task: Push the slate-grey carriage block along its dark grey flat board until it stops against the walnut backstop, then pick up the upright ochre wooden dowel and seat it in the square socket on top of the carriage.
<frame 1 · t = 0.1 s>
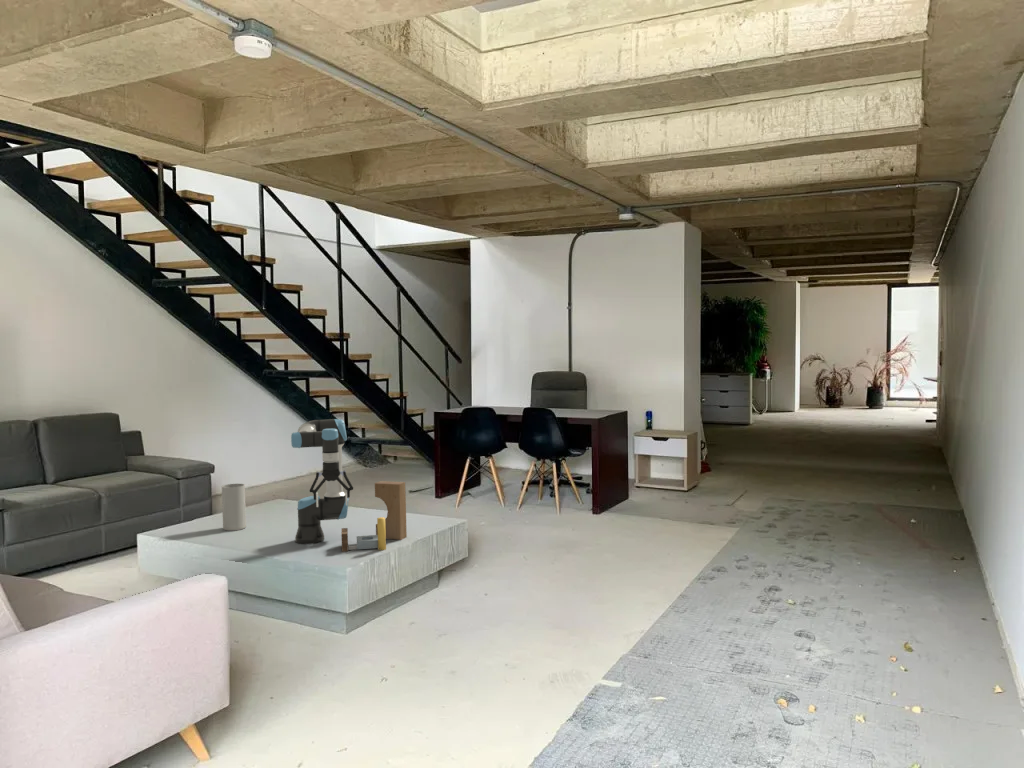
hand: (332, 505, 363), 28 cm above the table, fingers open, 13 cm apart
cylinder vase: (234, 528, 441), on the table
decorative block: (391, 537, 413), on the table
backstop: (345, 548, 392), on the table
carriage: (367, 542, 395), point 2 cm above the table, slide at 0.0 cm
dark grey flat board: (366, 546, 395), on the table
dowel: (382, 549, 389), on the table
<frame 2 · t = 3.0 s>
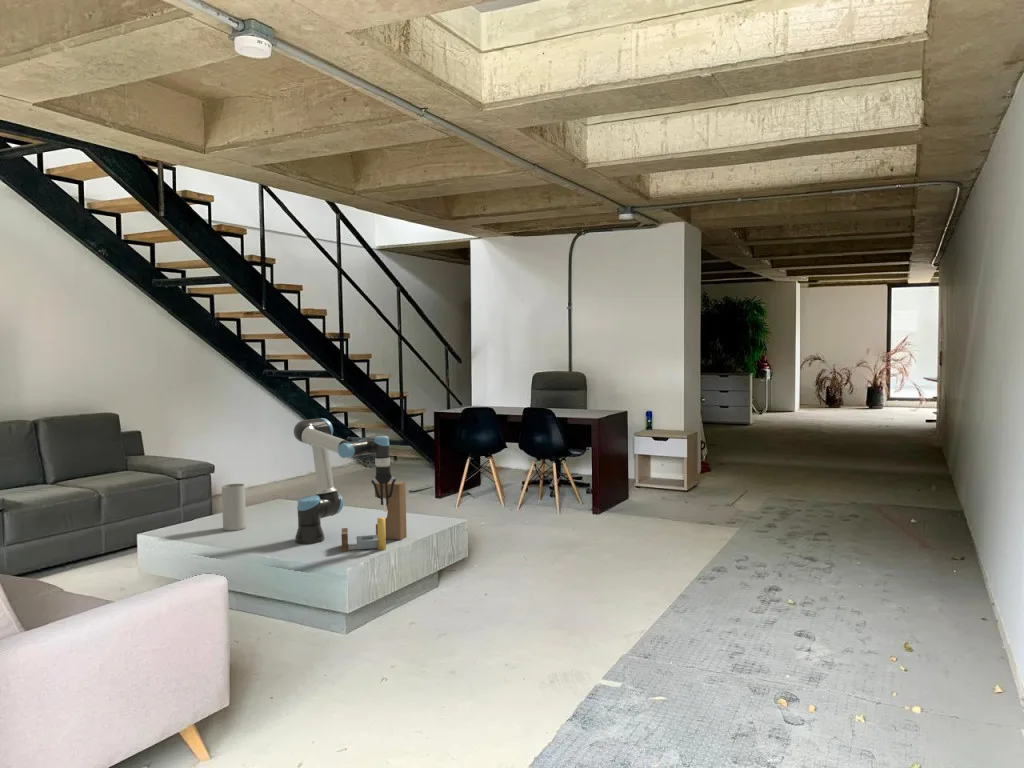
hand: (385, 511, 397), 18 cm above the table, fingers closed
nothing on the table moved.
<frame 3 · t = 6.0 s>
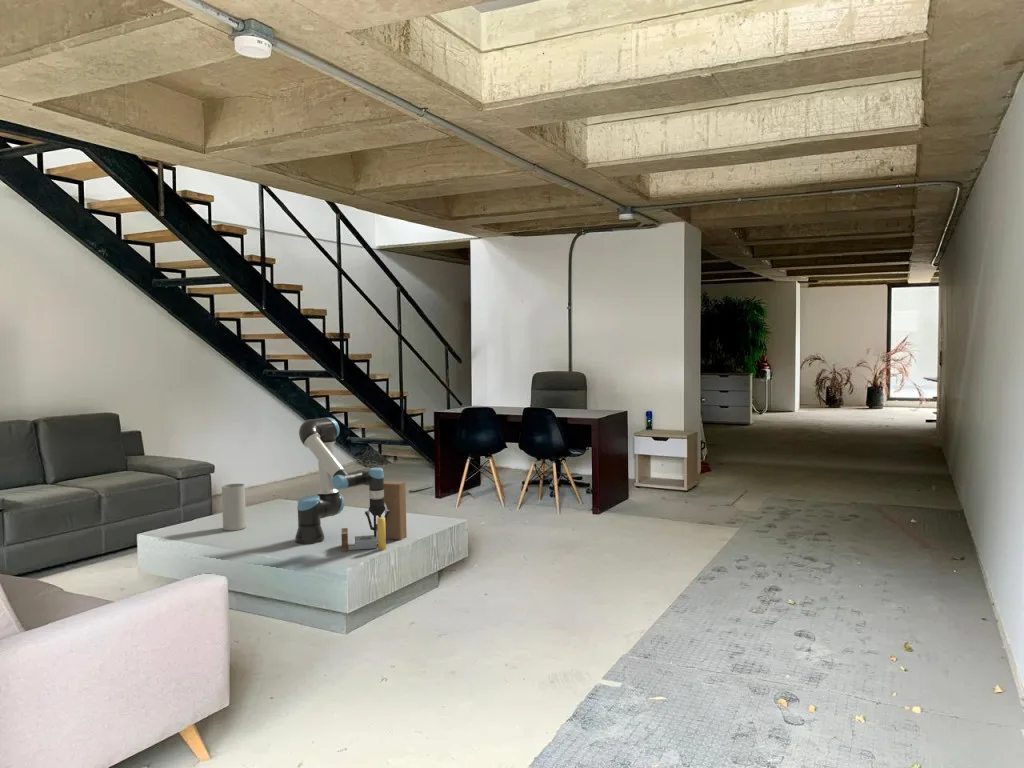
hand: (377, 542, 398), 1 cm above the table, fingers closed
carriage: (365, 542, 395), point 2 cm above the table, slide at 1.0 cm, touching gripper
everything else where it was.
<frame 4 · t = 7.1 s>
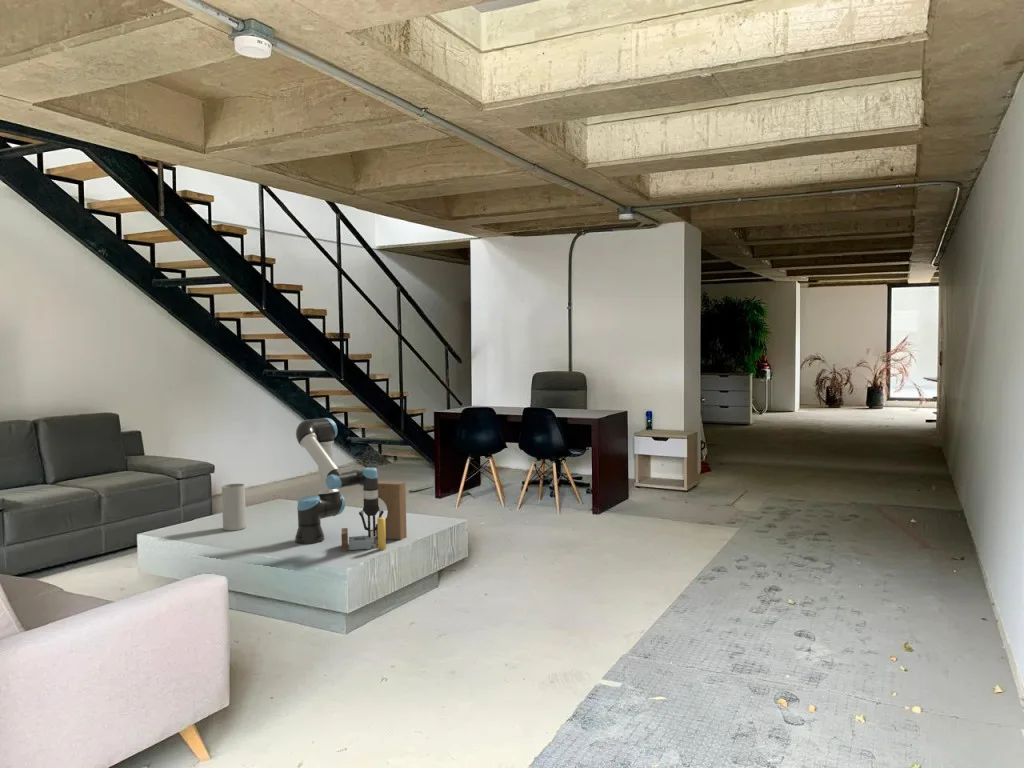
hand: (372, 542, 397), 1 cm above the table, fingers closed
carriage: (359, 542, 394), point 2 cm above the table, slide at 3.9 cm, touching gripper
everything else where it was.
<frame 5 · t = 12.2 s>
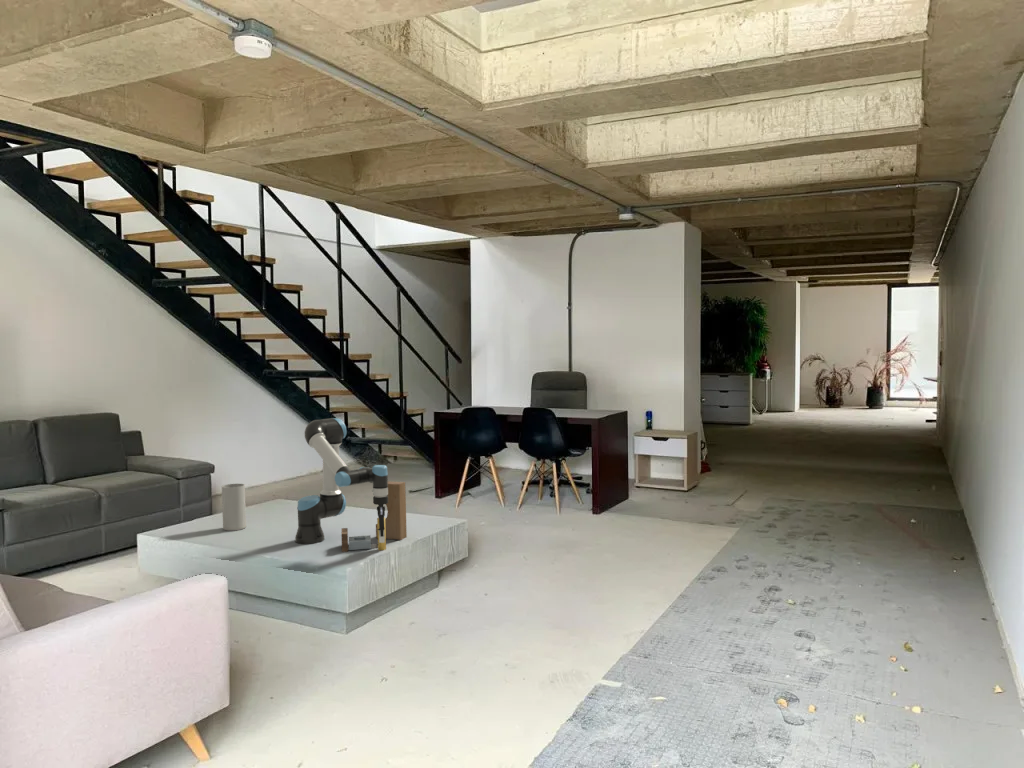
hand: (381, 541, 389), 4 cm above the table, fingers closed on dowel, 4 cm apart
carriage: (359, 542, 394), point 2 cm above the table, slide at 3.9 cm
dowel: (382, 549, 389), on the table, touching gripper
everything else where it was.
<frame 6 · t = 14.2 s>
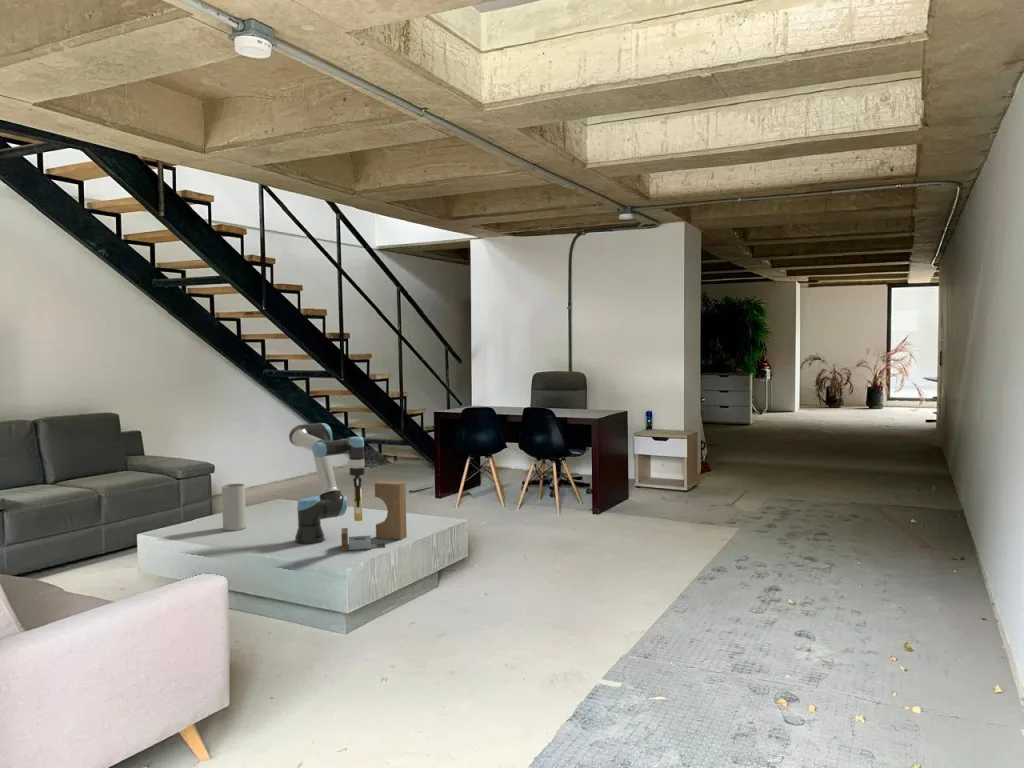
hand: (358, 512, 393), 18 cm above the table, fingers closed on dowel, 4 cm apart
dowel: (358, 520, 393), point 14 cm above the table, touching gripper
everything else where it was.
when the fingers open (7 cm above the table, at t = 16.5 s): dowel drops 1 cm, resting on carriage.
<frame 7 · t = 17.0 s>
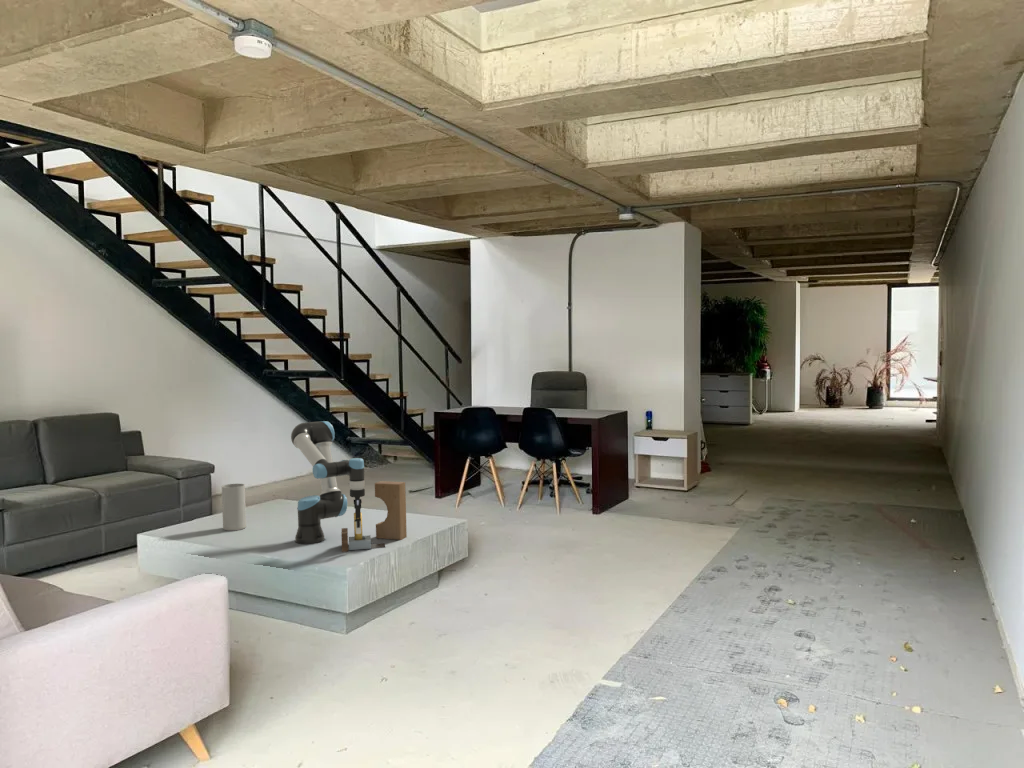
hand: (358, 530, 393), 9 cm above the table, fingers open, 11 cm apart
carriage: (359, 542, 394), point 2 cm above the table, slide at 3.9 cm, touching dowel
dowel: (358, 543, 394), point 2 cm above the table, touching carriage
everything else where it was.
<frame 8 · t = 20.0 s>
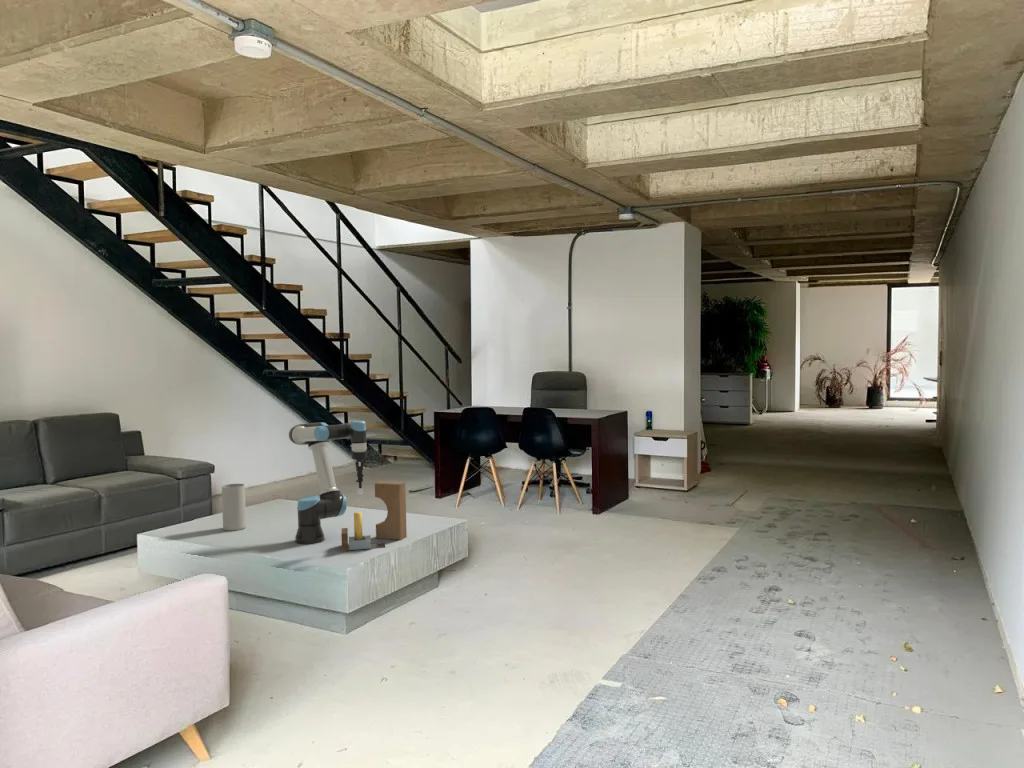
hand: (360, 492, 393), 29 cm above the table, fingers open, 13 cm apart
nothing on the table moved.
at the end: carriage slide at 3.9 cm; dowel 0.6 cm off-centre on the carriage, point 1.9 cm above the carriage's base; dowel tilted 1° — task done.
